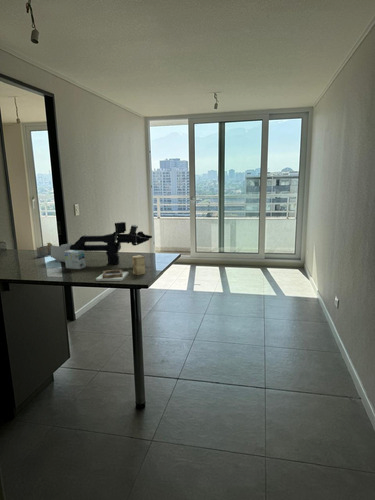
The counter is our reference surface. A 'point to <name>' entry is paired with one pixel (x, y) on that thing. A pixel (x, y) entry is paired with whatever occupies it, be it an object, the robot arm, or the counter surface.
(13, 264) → the counter surface
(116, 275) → the socket frame
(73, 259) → the light bulb box
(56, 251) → the grey angular block
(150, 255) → the counter surface
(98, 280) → the base board
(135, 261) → the maple pillar
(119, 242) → the robot arm
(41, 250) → the ruin model on sheet
